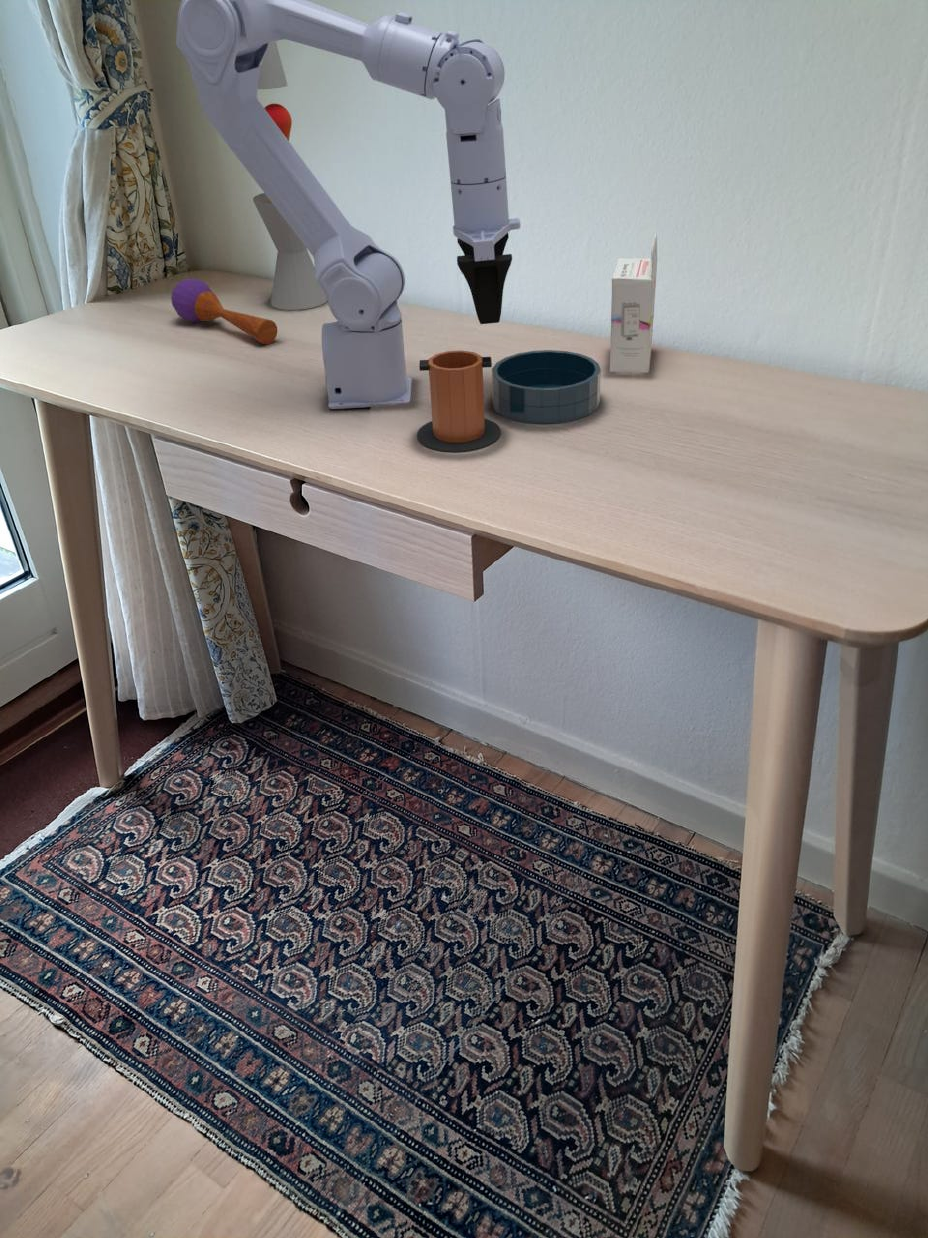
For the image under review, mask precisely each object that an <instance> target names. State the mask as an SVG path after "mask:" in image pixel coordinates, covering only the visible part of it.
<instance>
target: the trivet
mask: <svg viewBox="0 0 928 1238" xmlns="http://www.w3.org/2000/svg"><path fill="white" fill-rule="evenodd" d="M484 423H485V432H484V434H483V435H482V436H481V437H480V438H478V439H476V440H473V441H470V442H464V443H449V442H444V441H441V440H439V439H437V438H436V437H435V436H434V434H433V423H432V420H431V421H428V422H426V423H425V424H424V425H422V426H421V427H419V429H418V431H417V433H416V440H417V442H418V443H419V444H420V445H421V446H423V447H424V448H426V449H428V450H432V451H436V452H441V453H447V454H449V453H450V454H457V453H458V454H459V453H460V454H461V453H471V452H475V451H479V450H483V449H485V448H488V447H490V446H492V445H494V444H495V443H497V441H499V439H500V438H501V435H502V430H501V428H500V425H498V424H497V423H496V422H495V421H492V420H490V419H488V418H485V417H484Z"/></svg>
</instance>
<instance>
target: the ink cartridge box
mask: <svg viewBox="0 0 928 1238" xmlns="http://www.w3.org/2000/svg"><path fill="white" fill-rule="evenodd" d="M650 255H651V258H649V257H648V258H646V257H645V258H643V257H641V258H637V257H635V258H633V257H627V258H626V257H623V258H622V257H621V258H617V259H616V263H615V265H614V268H613V271H612V274H611V303H610V304H611V307H610V309H611V310H610V313H611V314H610V346H609V347H610V349H609V372H610V373H643V374H648V373H650V372H649V371H650V366H651V365H650V364H651V355H652V345H653V343H652V342H653V332H654V331H653V330H654V316H655V301H656V287H657V286H656V285H657V271H658V234H657V232H655V233H654V237H653V241H652V246H651V251H650Z"/></svg>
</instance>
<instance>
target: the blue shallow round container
mask: <svg viewBox="0 0 928 1238" xmlns="http://www.w3.org/2000/svg"><path fill="white" fill-rule="evenodd" d="M601 374H602V369H601V366H600V363H598V362H597V361H596V360H594V359H593V358H592V357H590V356H588V355H585V354H582V353H577V352H572V351H568V350H556V349H555V350H552V349H543V350H531V351H525V352H524V351H523V352H519V353H515V354H513V355H509V356H506V357H504V358H502V359H500V360H498V361H497V362H496V363H495V364H494V365H493V366H492V367H491V390H492V391H491V393H492V394H491V395H492V396H491V397H492V407H493V409H494V411H495V412H496V413H497V414H499V415H500V416H502V417H504V418H506V419H509V420H511V421H514V422H519V423H523V424H531V425H558V424H559V425H560V424H565V423H571V422H574V421H578V420H581V419H585V418H586V417H589V416H590V415H592V414H593V413H594V412H595V411H597V409H598V408H599V405H600V402H601V376H602V375H601Z"/></svg>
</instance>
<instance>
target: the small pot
mask: <svg viewBox="0 0 928 1238" xmlns="http://www.w3.org/2000/svg"><path fill="white" fill-rule="evenodd" d="M418 365H419V366H418V367H419V368H418V369H419V371H420V372H422V371H428V376H429V377H428V378H429V390H430V405H431V406H430V407H431V421H432V423H433V434H434V436H435V437H436V438H437V439H439V440H441V441H444V442H449V443H464V442H470V441H473V440H476V439H478V438H480V437H481V436H482V435H483V434H484V432H485V423H484V418H485V400H484V398H485V397H484V371H483V368H493V361H492V356H482V355H480V354H478V353H477V352H474V351H470V350H469V351H468V350H448V351H443V352H440V353H436V354H434V355H433V356H431V357H430V358H428V359H419V364H418Z"/></svg>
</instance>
